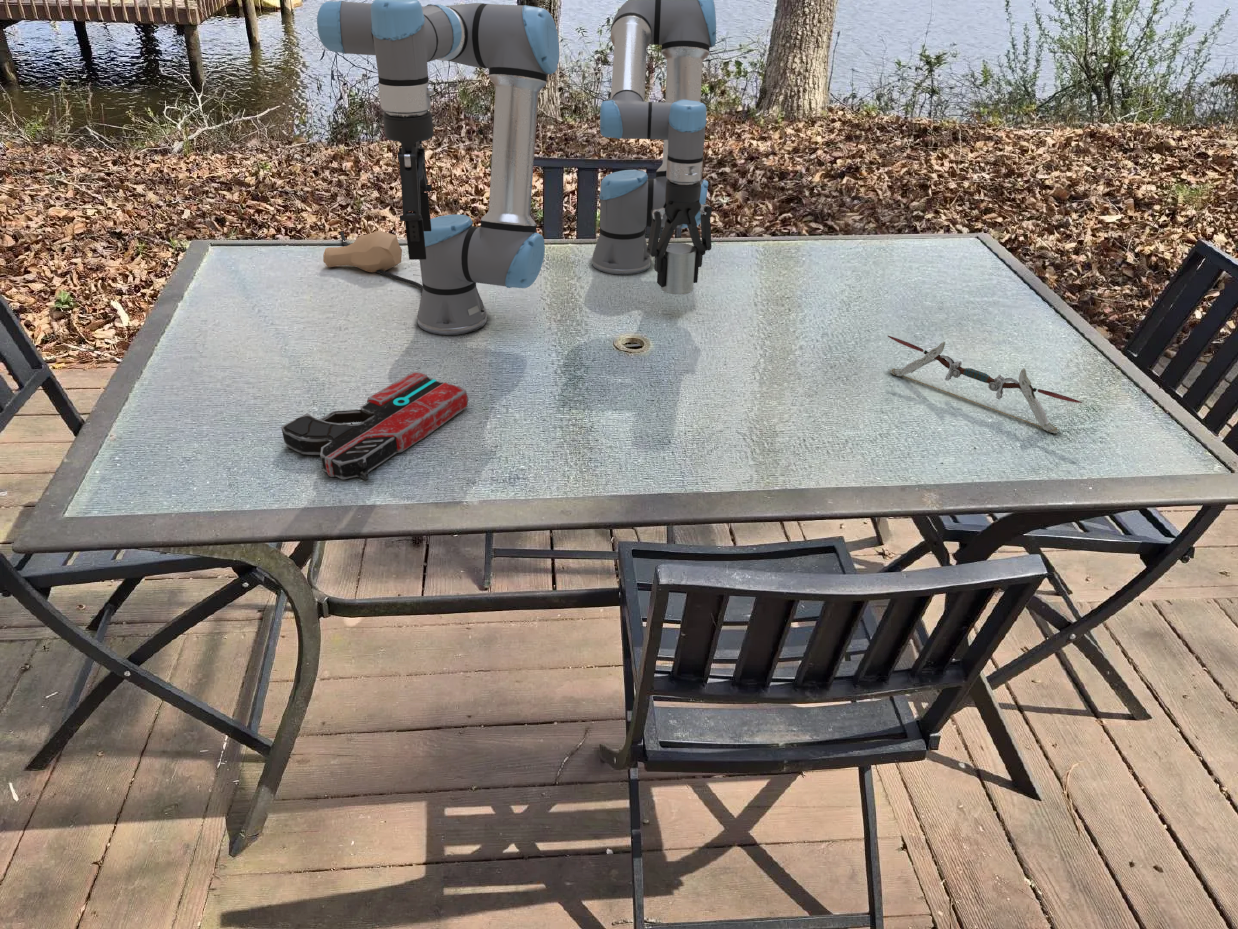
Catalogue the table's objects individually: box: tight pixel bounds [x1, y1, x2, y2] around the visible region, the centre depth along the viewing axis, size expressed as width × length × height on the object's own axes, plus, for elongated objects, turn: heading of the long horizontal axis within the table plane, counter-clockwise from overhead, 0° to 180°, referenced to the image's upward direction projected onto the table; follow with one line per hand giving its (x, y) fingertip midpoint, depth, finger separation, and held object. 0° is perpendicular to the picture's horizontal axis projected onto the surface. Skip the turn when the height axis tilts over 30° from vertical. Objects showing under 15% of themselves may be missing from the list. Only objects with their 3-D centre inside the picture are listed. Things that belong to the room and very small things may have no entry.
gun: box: [280, 371, 469, 481], centre depth 156 cm, size 4×31×19 cm
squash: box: [322, 230, 403, 273], centre depth 220 cm, size 11×20×9 cm, turn 90°
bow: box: [887, 335, 1083, 434], centre depth 169 cm, size 39×2×10 cm, turn 47°
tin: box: [660, 242, 696, 296], centre depth 196 cm, size 7×7×9 cm
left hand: (420, 244), depth 148 cm, fingers open, 13 cm apart
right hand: (677, 282), depth 198 cm, fingers closed on tin, 7 cm apart
